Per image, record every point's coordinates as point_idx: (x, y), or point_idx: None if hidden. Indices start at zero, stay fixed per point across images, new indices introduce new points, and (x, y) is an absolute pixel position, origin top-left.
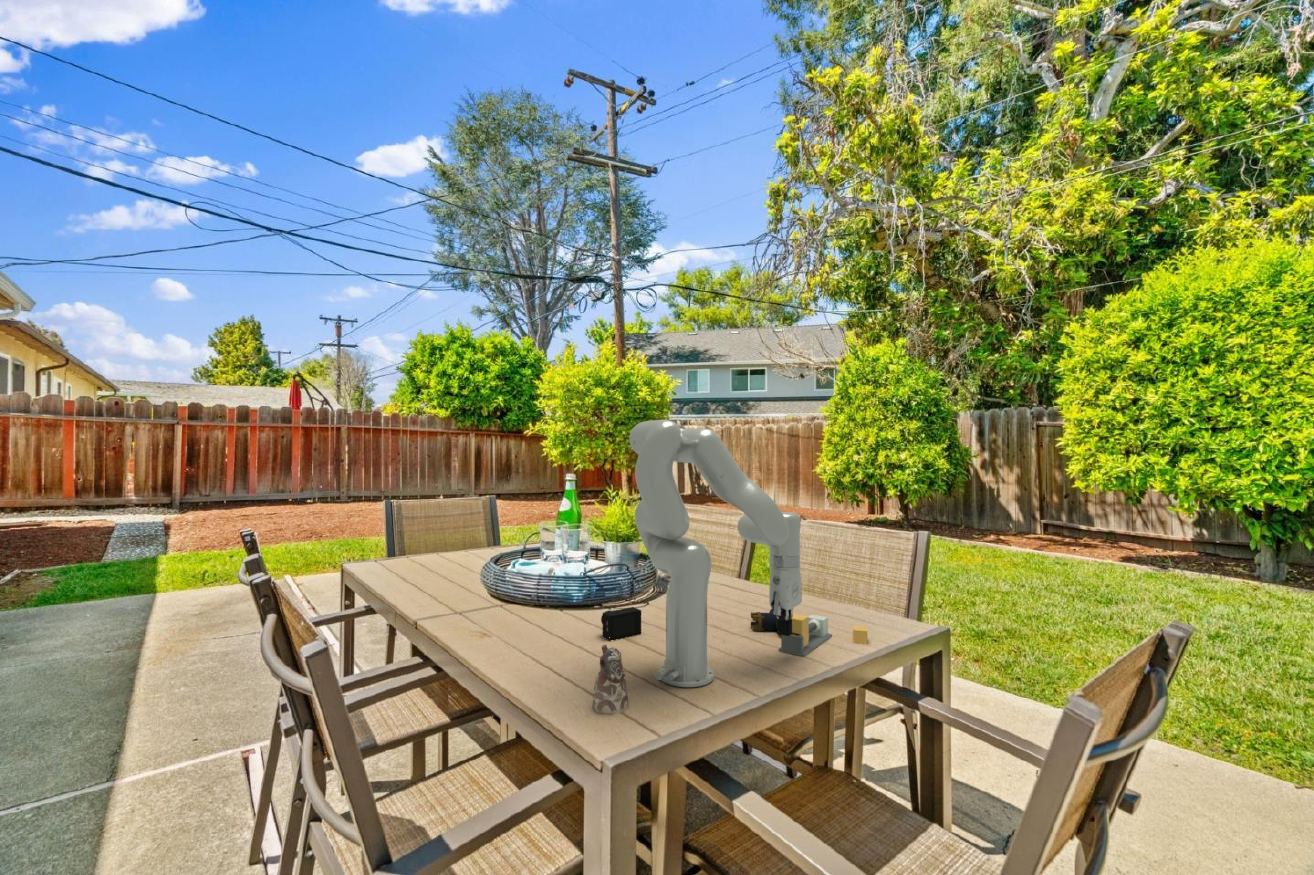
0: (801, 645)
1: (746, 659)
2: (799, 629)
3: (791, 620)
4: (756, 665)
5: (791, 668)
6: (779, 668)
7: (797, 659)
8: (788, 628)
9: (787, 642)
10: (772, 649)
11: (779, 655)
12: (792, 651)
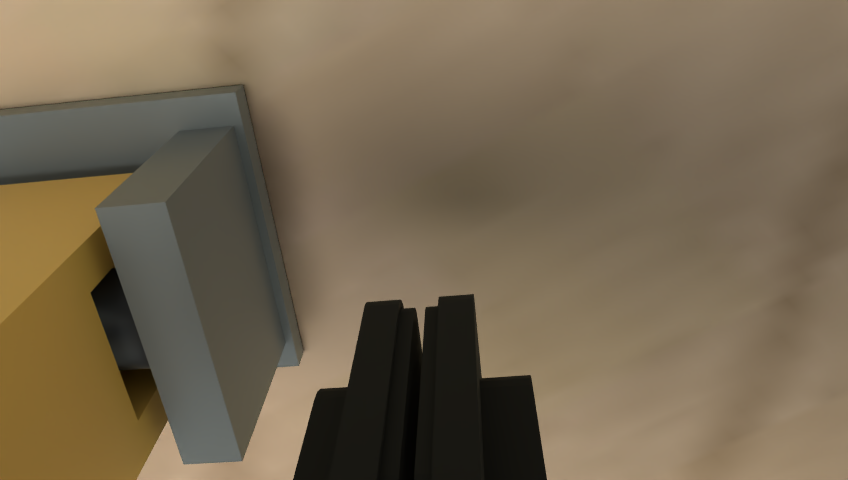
0: (204, 163)
1: (709, 440)
2: (51, 326)
3: (364, 474)
4: (809, 315)
5: (684, 7)
6: (763, 110)
7: (371, 99)
8: (476, 381)
9: (248, 332)
10: (310, 405)
11: (404, 290)
12: (259, 231)
